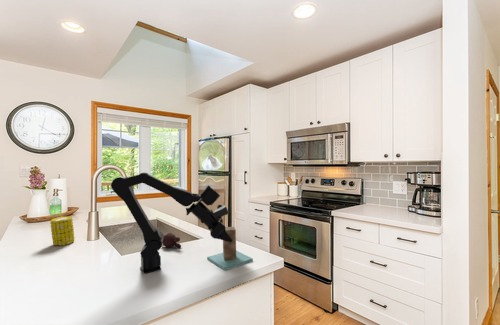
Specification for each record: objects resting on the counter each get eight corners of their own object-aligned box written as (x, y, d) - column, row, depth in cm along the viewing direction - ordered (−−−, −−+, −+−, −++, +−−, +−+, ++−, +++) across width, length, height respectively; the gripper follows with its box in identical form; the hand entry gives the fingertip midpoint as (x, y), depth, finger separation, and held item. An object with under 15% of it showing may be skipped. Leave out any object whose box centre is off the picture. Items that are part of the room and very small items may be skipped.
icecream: (151, 234, 127) (173, 241, 119) (162, 227, 133) (184, 233, 126) (153, 246, 129) (175, 253, 121) (165, 238, 135) (186, 245, 128)
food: (78, 243, 140) (61, 251, 130) (60, 238, 141) (42, 245, 131) (81, 217, 138) (65, 222, 128) (63, 211, 140) (45, 217, 130)
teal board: (224, 270, 98) (224, 267, 98) (207, 259, 110) (207, 257, 110) (252, 260, 107) (252, 258, 107) (234, 251, 118) (234, 249, 118)
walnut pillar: (224, 260, 105) (223, 230, 105) (223, 256, 110) (222, 227, 110) (236, 259, 106) (235, 229, 106) (234, 255, 111) (234, 226, 111)
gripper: (218, 203, 98) (247, 229, 100) (215, 196, 116) (240, 219, 118) (198, 225, 96) (227, 251, 99) (198, 214, 115) (223, 237, 117)
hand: (230, 238), depth 108 cm, fingers open, 9 cm apart
